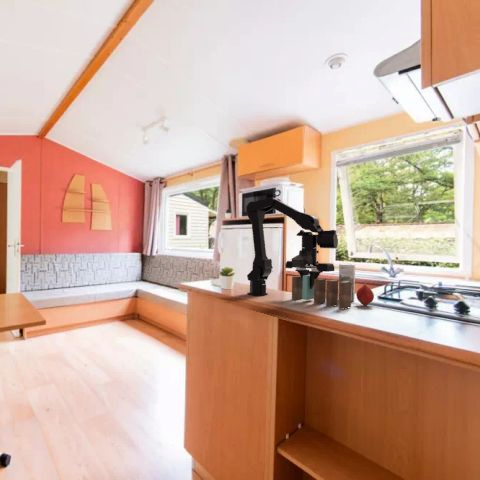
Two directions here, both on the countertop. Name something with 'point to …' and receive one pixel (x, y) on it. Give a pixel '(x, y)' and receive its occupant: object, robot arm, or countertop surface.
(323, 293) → the domino
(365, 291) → the onion
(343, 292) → the domino
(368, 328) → the countertop surface
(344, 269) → the syrup box
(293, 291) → the domino
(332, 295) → the domino
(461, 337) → the countertop surface
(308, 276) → the domino
